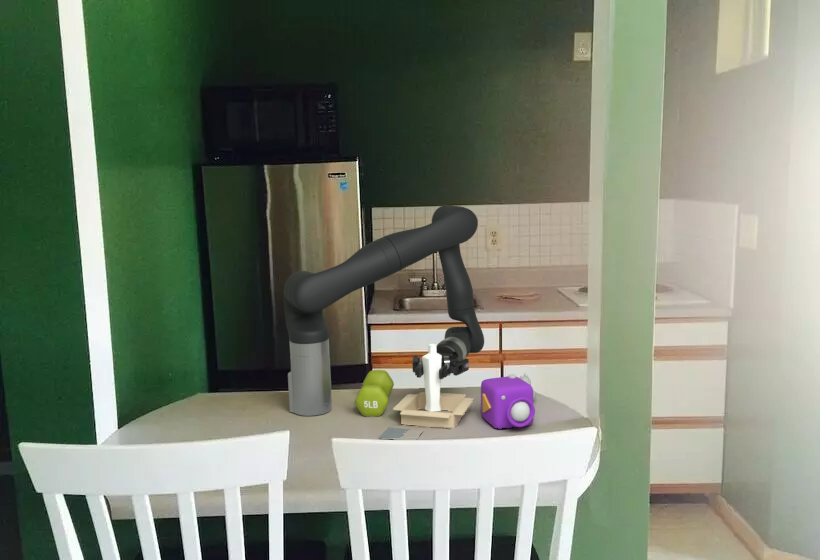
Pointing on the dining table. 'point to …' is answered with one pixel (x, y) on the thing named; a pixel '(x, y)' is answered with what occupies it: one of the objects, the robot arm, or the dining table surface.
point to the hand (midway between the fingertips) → (429, 374)
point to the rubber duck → (526, 379)
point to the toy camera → (507, 402)
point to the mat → (393, 433)
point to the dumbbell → (374, 393)
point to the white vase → (432, 378)
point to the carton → (447, 402)
